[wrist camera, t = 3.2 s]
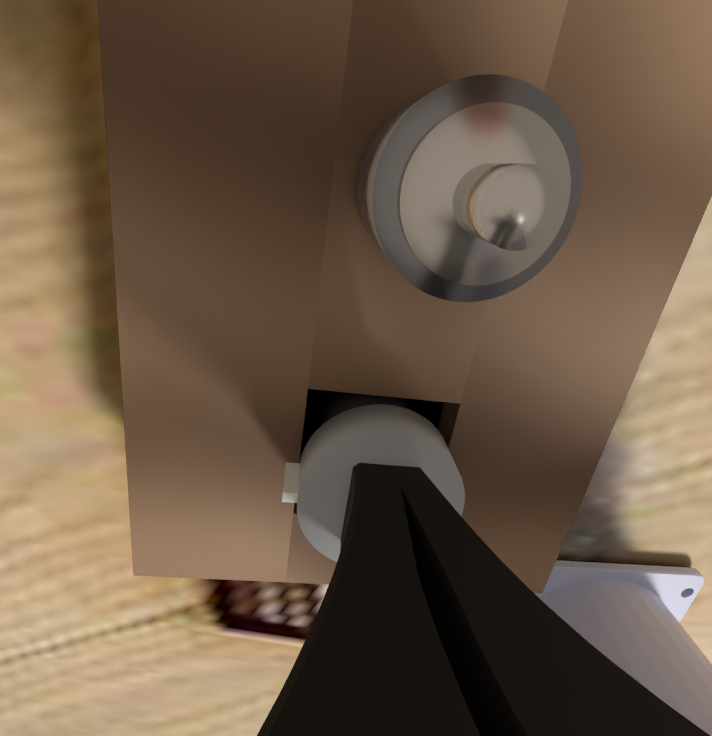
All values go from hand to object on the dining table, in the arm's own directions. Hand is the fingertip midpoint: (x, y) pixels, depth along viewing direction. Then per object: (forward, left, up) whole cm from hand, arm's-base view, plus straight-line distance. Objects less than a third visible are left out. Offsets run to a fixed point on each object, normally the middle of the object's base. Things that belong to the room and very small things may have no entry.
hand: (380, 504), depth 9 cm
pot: (+6, 0, -2) cm, 6 cm away
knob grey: (0, 0, -5) cm, 5 cm away
